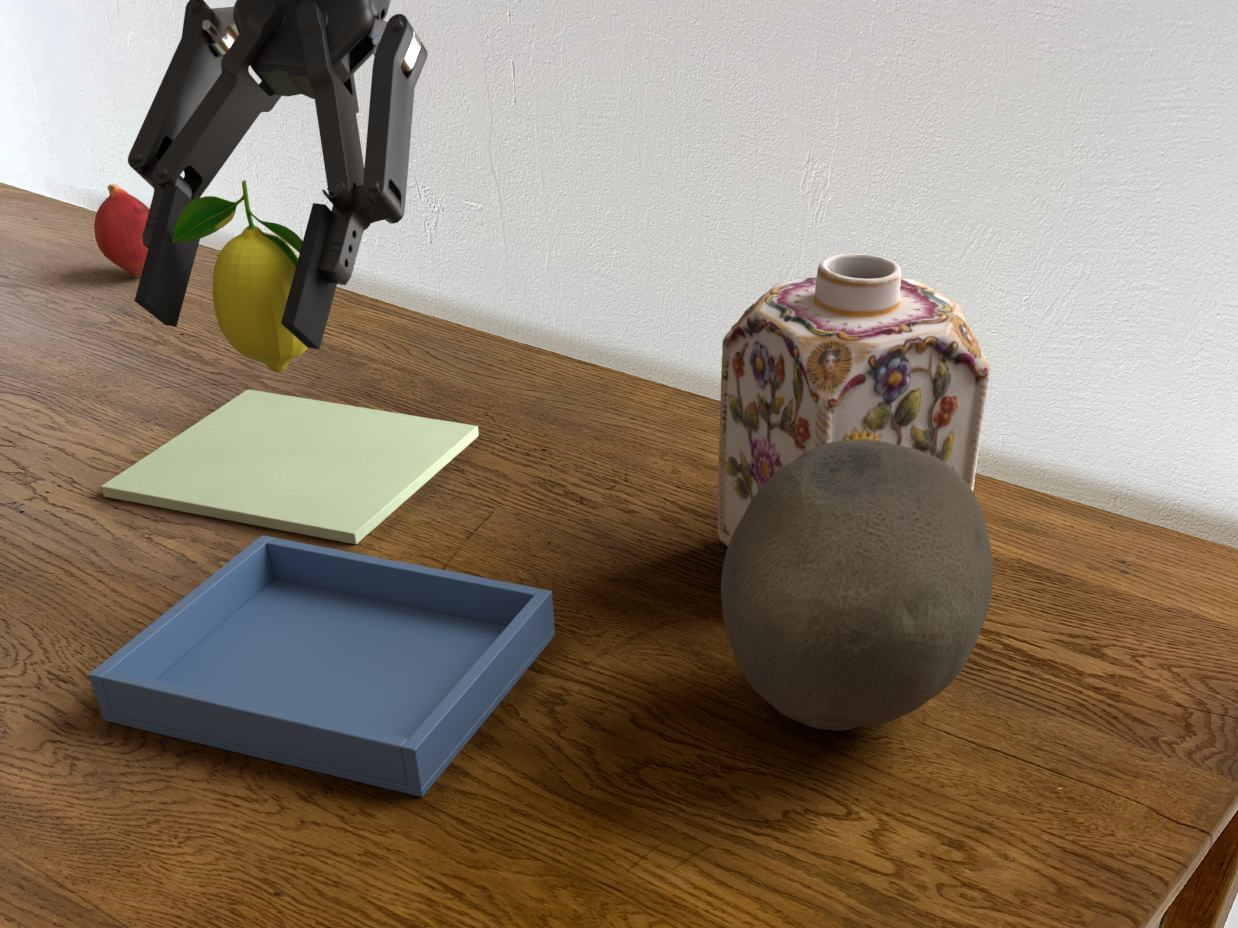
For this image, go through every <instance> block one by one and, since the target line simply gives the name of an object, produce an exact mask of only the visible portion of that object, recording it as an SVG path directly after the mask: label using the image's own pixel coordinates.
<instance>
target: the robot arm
mask: <svg viewBox="0 0 1238 928" xmlns="http://www.w3.org/2000/svg"><path fill="white" fill-rule="evenodd" d="M391 1H392V0H235V2H234V6H227V7H213V8H211V7H210V6H209V5H208V4H207V2H206V1H205V0H188V1H187V3H186V5H185V8H184V9H185V10H184V17H183V24H182V32H181V38H180V40H179V42H178V44H177V47H176V49H175V51H174V54H173V56H172V58H171V60H170V62H169V64H168V67H167V69H166V71H165V73H164V75H163V78H162V80H161V82H160V84H159V86H158V88H157V91H156V94H155V96H154V98H153V100H152V102H151V105H150V106H149V109H148V111H147V113H146V115H145V118H144V120H143V122H142V125H141V127H140V129H139V131H138V133H137V135H136V137H135V140H134V142H133V145H132V147H131V149H130V151H129V152H128V156H127V163H128V165H129V167H130V168H131V169H132V170H133V171H135V173H137V174H138V175H139V177H141V178H142V179H143V180H144V181H145V182H146V183H147V184H148V185H149V186H150V187H151V188H152V189H153V195H152V199H151V203H150V206H149V213H148V219H147V220H146V226H145V228H144V232H143V235H142V236H143V245H144V246H145V247H146V248H148V252H147V256H146V259H145V263H144V267H143V271H142V274H141V277H139V282H138V287H137V289H136V293H135V297H134V302H135V303H136V304H138V305H139V306H140V307H142V309H143V310H145V311H147V312H148V313H150V315H152V316H153V318H155V319H157V320H158V321H159V322H160V323H161V324H163V325H164V326H167V327H168V326H169V327H174V328H177V326H178V323H179V319H180V315H181V312H182V308H183V305H184V300H185V297H186V293H187V289H188V286H189V281H190V279H191V275H192V272H193V271H192V270H193V267H194V264H195V259H196V256H197V252H198V248H199V244H200V240H201V239H198V240H195V241H189V242H172V239H173V233H174V228H175V225H176V222H177V220H178V218H179V216H180V214H181V212H182V211H183V209H184V208H185V207H186V206H187V205H188V204H189V203H190V202H192V201H193V200H194V199H197V198H201V197H202V196H203V194H204V193H205V191H206V190H207V189H208V187H209V186H210V184H211V183H212V182H213V180H214V179H215V177H216V176H217V175H218V173H219V172H220V171H221V169H222V168H223V166H224V165H225V163H226V162H227V161H228V159H229V158H230V156H231V155H232V154H233V152H234V151H235V149H236V148H237V146H239V144H240V142H241V141H242V139H243V138H244V137H245V135H246V134H247V133H248V131H249V130H250V128H251V127H252V126H253V124H254V123H255V121H256V120H257V119H258V118H259V116H260V115H261V114H262V113H269V112H271V111H272V110H273V109H274V108H275V106H276V104H277V103H278V102H279V100H280V99H281V98H282V97H292V96H297V95H303V96H305V97H307V98H309V99H312V100H314V104H315V111H316V119H317V125H318V130H319V138H320V145H321V151H322V159H323V165H324V171H325V180H326V185H327V188H326V190H327V191H326V190H325V189H322V190H321V191H322V194H323V195H324V196H325V197H326V199H327V200H328V201H329V203H331V205H332V207H331V208H329V206H328V205H327V204H325V203H317V202H313V203H312V205H311V208H310V213H309V217H308V220H307V225H306V227H305V232H304V236H303V238H302V239H303V240H302V241H303V243H302V246H301V250H300V253H299V254H298V257H299V258H298V261H297V265H296V269H295V273H294V276H293V280H292V284H291V288H290V291H289V295H288V299H287V303H286V306H285V310H284V314H283V318H282V321H281V324H282V325H283V326H284V327H285V328H287V329H288V330H289V331H290V332H291V333H292V334H293V335H294V336H295V337H296V338H298V339H299V340H300V341H301V342H302V343H303V344H304V345H305V346H306V347H307V348H308V349H314V350H321V346H322V342H323V339H324V336H325V335H324V334H325V331H326V327H327V323H328V319H329V316H330V312H331V308H332V306H333V305H332V304H333V301H334V297H335V294H336V293H335V292H336V290H337V286H338V285H341V286H346V285H347V284H348V282H349V281H350V280H351V278H352V277H353V276H352V275H353V271H354V268H355V264H356V259H357V257H358V253H359V250H360V246H361V241H362V238H363V235H364V232H365V231H366V230H367V229H368V228H369V227H370V226H371V224H373V223H377V222H380V221H386V222H387V223H388V224H393V225H394V224H398V223H399V222H401V221H402V219H403V218H404V216H405V211H406V202H407V201H406V198H407V188H408V173H409V161H410V149H411V138H412V125H413V113H414V101H415V100H414V99H415V88H416V85H417V83H418V81H419V78H420V75H421V74H422V71H423V68H424V66H425V64H426V62H427V60H428V50H427V48H426V47H425V45H424V43H423V41H422V40H421V39H420V37H419V35H418V34H417V32H416V30H415V29H414V27H413V26H412V24H411V23H410V21H409V20H408V18H407V17H406V15H404V14H403V13H396V14H394V15H392V16H391V17H390V18H389V19H388V20H387V21H386V17H387V15H388V12H389V9H390V6H391V5H390V4H391ZM372 56H373V63H372V70H371V84H370V93H369V94H370V95H369V108H368V118H367V131H366V132H367V133H366V143H365V153H364V155H365V156H363V152H362V150H363V149H362V143H361V137H360V132H359V123H358V118H357V114H359V112H360V109H359V108H360V107H359V101H358V95H357V88H356V82H355V73H356V72H357V71H358V70H359V69H360V68H361V67H362V66H363V65H364V64H365V63H366V62H367V61H368V60H369V59H370V58H371V57H372ZM249 68H251V70H252V71H253V72H254V73H255V75H256V76H257V77H258V78H259V79H260V82H259V83H258V82H257V81H256V80H255V78H254V77H253V76H252V74H251V73H250V69H249ZM182 173H184V176H182Z"/></svg>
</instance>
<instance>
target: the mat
mask: <svg viewBox="0 0 1238 928" xmlns="http://www.w3.org/2000/svg"><path fill="white" fill-rule="evenodd" d="M479 436H480V432H479V425H476V424H475V425H474V424H468V423H462V422H455V421H451V420H450V421H449V420H442V419H436V418H431V417H430V418H429V417H424V416H418V415H411V414H406V413H405V414H404V413H401V412H400V413H398V412H394V411H388V410H387V411H385V410H380V409H374V408H368V407H361V406H355V405H348V404H343V403H337V402H331V401H323V400H318V399H311V398H306V397H298V396H293V395H287V394H281V393H280V394H279V393H275V392H266V391H262V390H256V389H250V388H249V389H246V390H244V391H243V392H241V393H240V394H238V395H237V396H235V397H234V398H232V399H230V400H229V401H227V402H226V403H224V404H223V405H222V406H220V407H218V408H217V409H216V410H214V411H213V412H211V413H209V414H208V415H206V416H205V417H204V418H202V419H201V420H199V421H197V422H196V423H194V424H193V425H191V426H190V427H188V428H187V429H185V430H184V431H182V432H181V433H179V434H178V435H176V436H175V437H173V438H171V439H170V440H168V441H167V442H165V443H164V444H162V445H161V446H159V447H158V448H156V449H155V450H153V451H152V452H150V453H149V454H147V455H146V456H144V457H142V458H141V459H140V460H138V461H137V462H135V463H133V464H132V465H131V466H130V467H128V468H126V469H124V470H123V471H122V472H120V473H119V474H117V475H116V476H114V477H113V478H111V479H109V480H108V481H107V482H105V483H104V484H102V485H101V486H100V488H101V492H102V495H103V497H104V498H108V499H109V498H110V499H116V500H119V501H124V502H131V503H135V504H142V505H146V506H151V507H157V508H162V509H166V510H167V509H168V510H172V511H177V512H183V513H188V514H193V515H198V516H204V517H209V518H214V519H220V520H225V521H231V522H236V523H241V524H247V525H251V526H257V527H262V528H267V529H271V530H272V529H273V530H278V531H283V532H288V533H293V534H299V535H303V536H304V535H305V536H309V537H315V538H320V539H324V540H330V541H335V542H339V543H346V544H351V545H358V544H359V543H360V542H361V541H362V540H363V539H364V538H366V537H367V536H368V535H369V534H370V533H371V532H373V530H375V529H376V528H377V527H378V526H379V525H381V523H383V522H384V521H385V520H386V519H387V518H388V517H389V516H391V515H392V514H393V513H394V512H395V511H396V510H397V509H398V508H399V507H401V506H402V505H403V504H404V503H405V502H407V501H408V500H409V498H411V497H412V496H413V495H415V493H416V492H417V491H419V490H420V489H421V488H422V487H423V486H424V485H425V484H426V483H427V482H429V481H430V480H431V479H432V478H434V476H436V475H437V474H438V473H439V472H440V471H441V470H442V469H443V468H445V467H446V466H447V465H448V464H450V462H451V461H453V459H454V458H456V457H457V456H458V455H459V454H460V453H462V452H463V450H465V449H466V448H467V447H468V446H469V445H470V444H472V443H473V442H474V441H475V440H476V439H478V437H479Z"/></svg>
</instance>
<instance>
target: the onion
mask: <svg viewBox="0 0 1238 928" xmlns="http://www.w3.org/2000/svg"><path fill="white" fill-rule="evenodd" d="M107 190H108V193H109V196H107V197H106V198H105V199H104V200H103V201H102V203H100V206H99V207H98V209H97V211H96V213H95V217H94V224H93V230H94V239H95V241H96V245H97V247H98V249H99V251H100V252H101V253H102V254H103V256H104V257H105V258H106V259H108V260H109V261H110V262H111V263H113V264H114V265H115V266H117V267H118V268H120V269H122V270H124V272H127V273H128V274H129V275H131V276H132V277H134V278H141V274H142V271H143V267H144V263H145V259H146V256H147V252H148V248H146V247H145V246H144V245H143V236H142V235H143V232H144V228H145V226H146V220H147V219H148V213H149V209H150V207H148V206H147V205H146V204H145V203H144V202H142V200H140V199H138V198H137V197H135V196H134V195H132V194H130V193H128V192H127V191H126V190H124V189H123V188H121V186H119V185H118V184H115V183H110V184H108V186H107Z"/></svg>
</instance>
